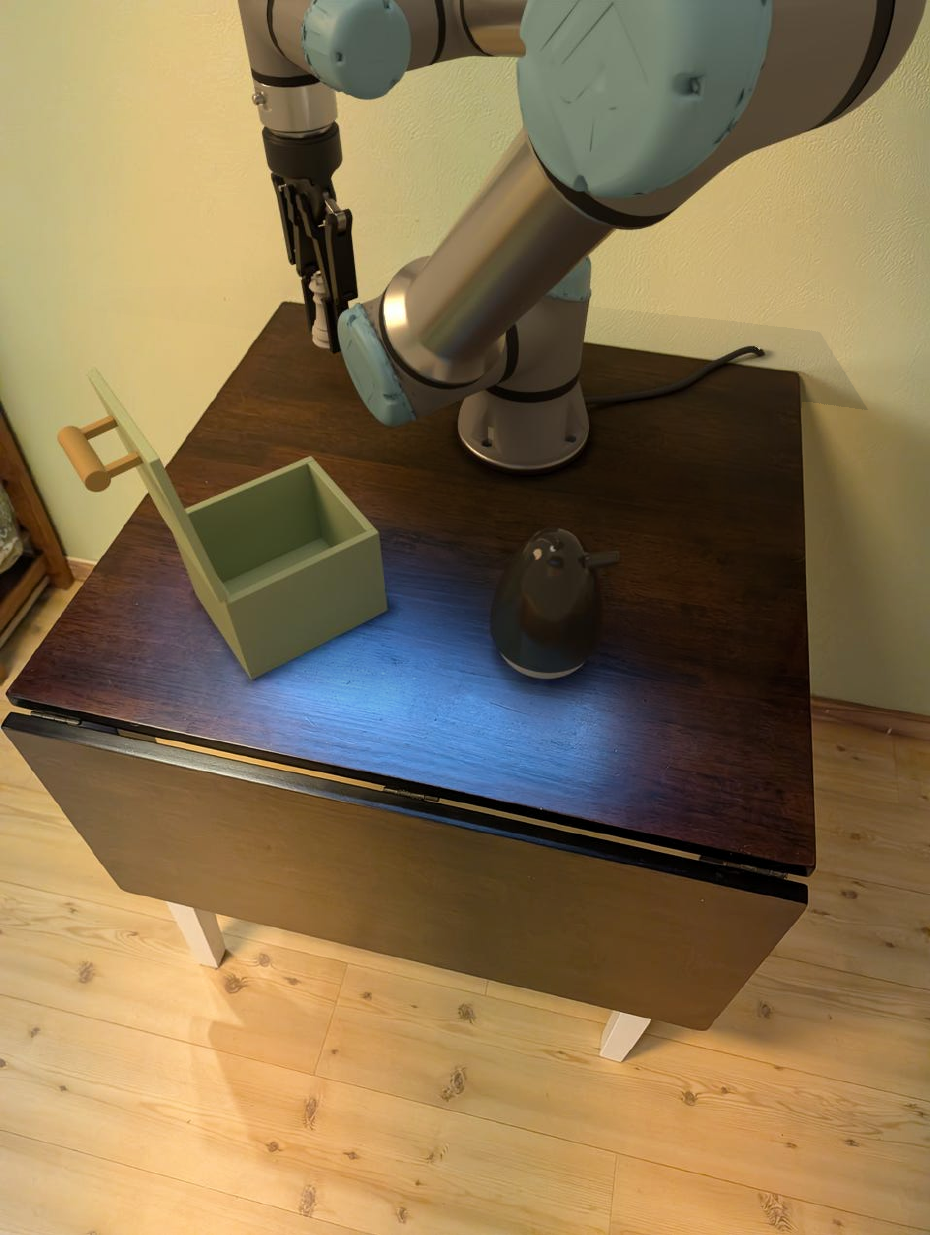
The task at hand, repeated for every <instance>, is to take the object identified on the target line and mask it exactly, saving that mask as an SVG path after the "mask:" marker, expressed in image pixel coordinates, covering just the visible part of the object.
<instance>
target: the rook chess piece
mask: <svg viewBox="0 0 930 1235" xmlns="http://www.w3.org/2000/svg"><path fill="white" fill-rule="evenodd" d="M318 274H319V273H318V272H316V273H315V274H313V275H314V276H311V283H310V284H309V288H310V289H311V291H313V292H314V294H315V295H314V297H313V300H314V302H315V304H316V320H315V321H314V325H313V328H312V333H311V335H312V340H311V341H312V343H313V344H314V345H315V346H316V347H318V348H319V349H321V350H325V351H330V345H329V339H328V332H327V326H326V319H325V312H324V306H323V304H322V303H321V300H320V299H321V298H324V297H326V294H325V290H324V286H323V281H322V277H321V276H318Z"/></svg>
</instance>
